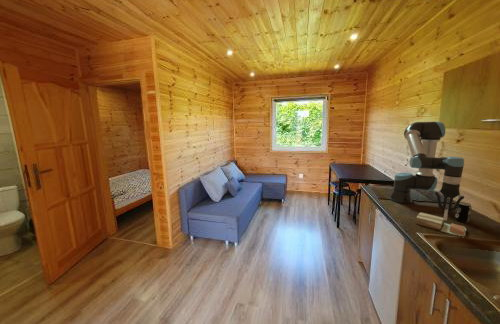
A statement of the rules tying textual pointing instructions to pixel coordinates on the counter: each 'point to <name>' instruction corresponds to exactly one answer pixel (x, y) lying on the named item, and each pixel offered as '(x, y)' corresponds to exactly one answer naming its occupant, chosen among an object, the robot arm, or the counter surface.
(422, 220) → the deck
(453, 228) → the tile
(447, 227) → the mat
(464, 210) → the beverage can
